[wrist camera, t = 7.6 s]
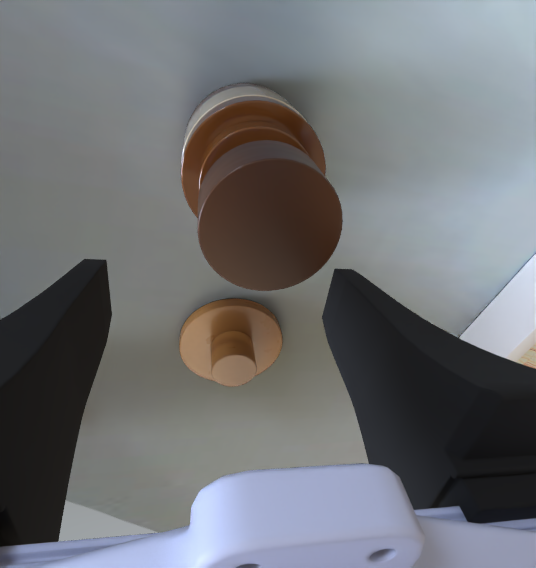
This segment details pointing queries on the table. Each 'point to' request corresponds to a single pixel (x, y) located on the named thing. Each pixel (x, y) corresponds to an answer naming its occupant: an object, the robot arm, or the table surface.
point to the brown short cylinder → (267, 216)
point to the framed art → (509, 320)
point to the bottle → (240, 131)
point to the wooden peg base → (230, 341)
